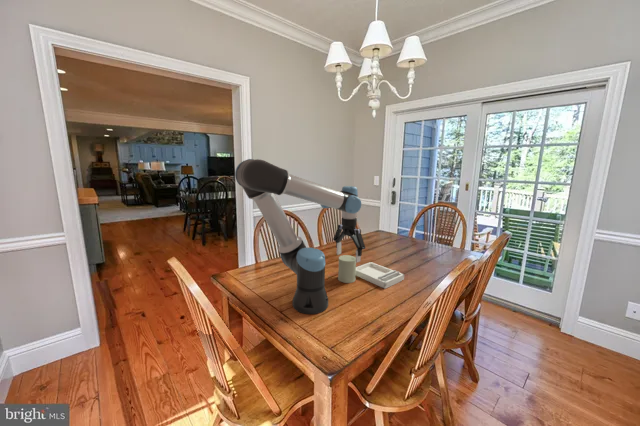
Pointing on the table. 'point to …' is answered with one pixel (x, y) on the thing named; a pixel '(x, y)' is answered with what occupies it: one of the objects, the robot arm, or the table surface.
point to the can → (347, 268)
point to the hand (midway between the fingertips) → (348, 257)
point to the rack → (379, 274)
